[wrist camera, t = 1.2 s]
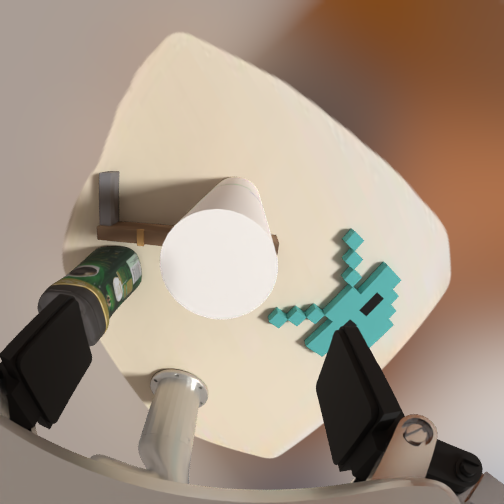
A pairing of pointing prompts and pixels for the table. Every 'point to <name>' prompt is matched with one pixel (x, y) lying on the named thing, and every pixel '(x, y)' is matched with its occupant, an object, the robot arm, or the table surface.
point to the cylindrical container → (221, 253)
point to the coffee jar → (98, 287)
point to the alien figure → (350, 304)
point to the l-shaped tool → (128, 230)
